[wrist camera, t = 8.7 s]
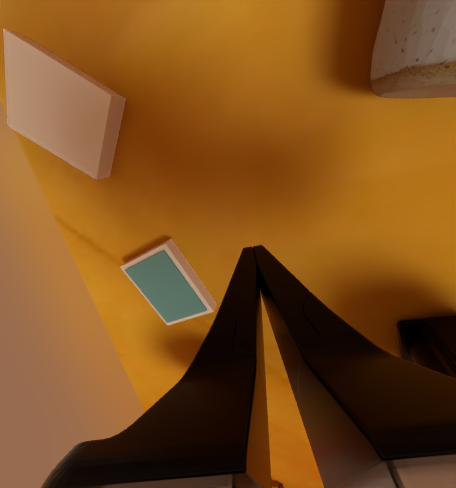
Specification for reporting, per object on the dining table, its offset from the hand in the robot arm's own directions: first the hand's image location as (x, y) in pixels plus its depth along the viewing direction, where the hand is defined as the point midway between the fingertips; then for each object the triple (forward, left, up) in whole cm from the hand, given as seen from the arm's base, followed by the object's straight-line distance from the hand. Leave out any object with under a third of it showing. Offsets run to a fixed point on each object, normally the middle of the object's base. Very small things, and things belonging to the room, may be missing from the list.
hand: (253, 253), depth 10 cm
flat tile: (-6, +13, -10) cm, 18 cm away
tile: (+9, +11, -9) cm, 17 cm away
